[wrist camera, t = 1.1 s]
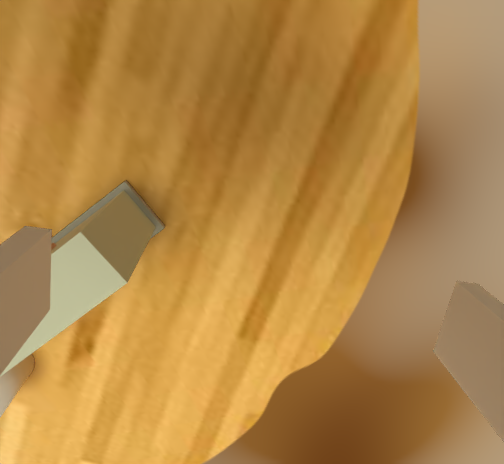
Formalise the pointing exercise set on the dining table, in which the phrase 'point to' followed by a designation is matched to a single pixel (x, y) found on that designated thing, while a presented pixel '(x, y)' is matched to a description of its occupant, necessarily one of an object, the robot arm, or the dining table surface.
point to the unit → (93, 260)
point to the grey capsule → (14, 381)
